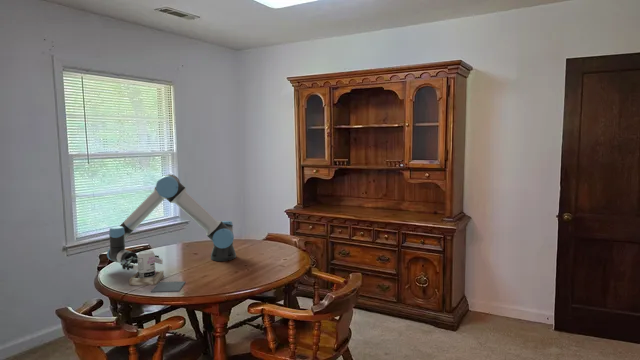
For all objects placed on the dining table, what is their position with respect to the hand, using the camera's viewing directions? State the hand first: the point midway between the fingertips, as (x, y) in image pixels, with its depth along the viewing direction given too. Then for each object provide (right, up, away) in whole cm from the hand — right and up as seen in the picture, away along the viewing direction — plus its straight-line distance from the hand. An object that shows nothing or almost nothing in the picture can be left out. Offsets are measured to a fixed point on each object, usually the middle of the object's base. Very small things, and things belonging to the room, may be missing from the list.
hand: (150, 264), depth 216 cm
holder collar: (-3, -9, +3) cm, 10 cm away
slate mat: (+12, -10, -7) cm, 17 cm away
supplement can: (-3, -9, +3) cm, 10 cm away
